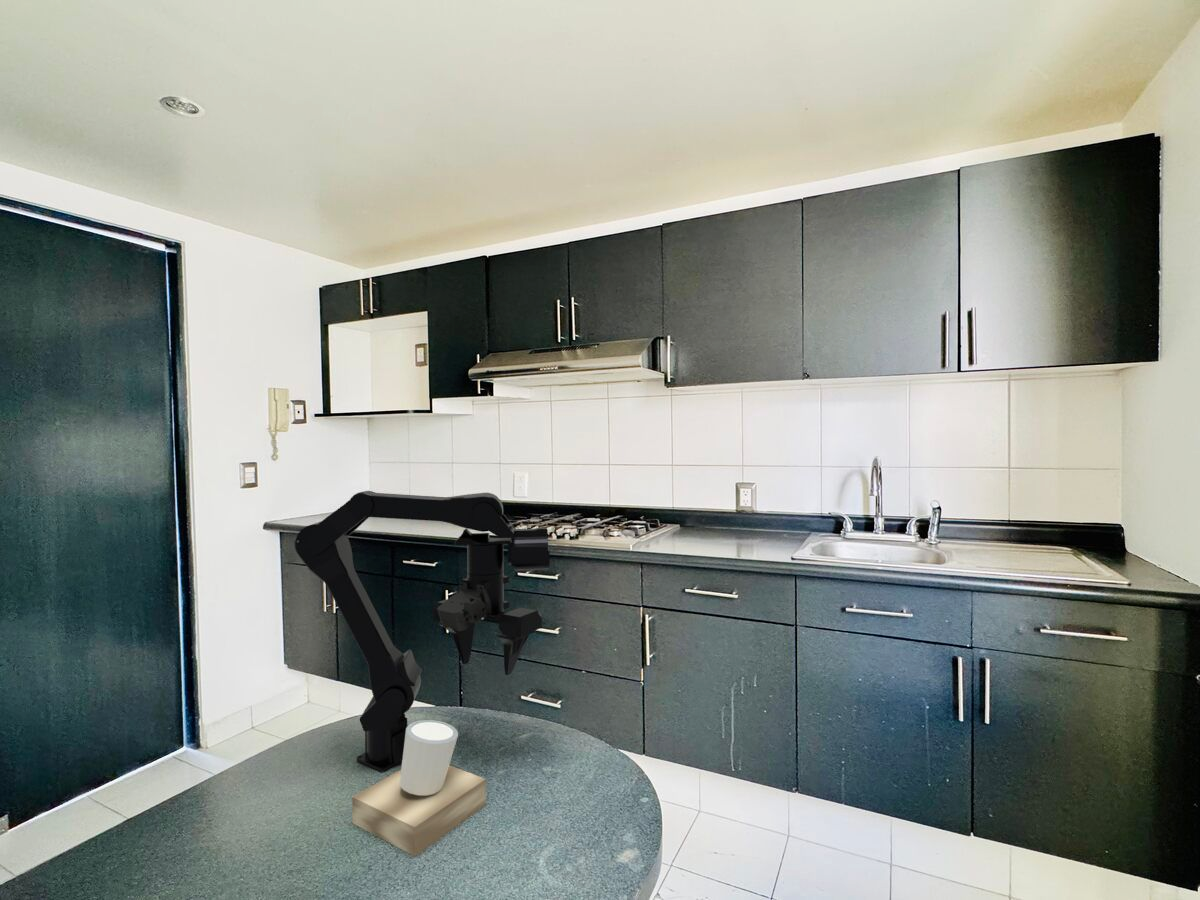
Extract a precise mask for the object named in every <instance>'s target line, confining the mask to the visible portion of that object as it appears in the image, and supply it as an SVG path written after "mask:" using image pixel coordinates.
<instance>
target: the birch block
mask: <svg viewBox="0 0 1200 900" xmlns="http://www.w3.org/2000/svg"><path fill="white" fill-rule="evenodd" d="M400 776H401V769H400V770H397V771H396V772H394V773H392V774H391V775H389V776H387V777H385V778H383V779H382V780H380V781H378V782H377V783H375V784H373V785H371V786H369V787H368V788H366V789H364V790H362V791H360V792H359V793H357V794H354V795H353V796H352V799H351V801H352V804H351V805H352V806H351V807H352V810H351V811H352V824H354V825H355V826H356V827H359V828H360V829H362V830H365V831H366V832H368V833H370V834H372V835H374V836H376V837H377V838H379V839H381V840H384V841H385V842H387V843H389V844H391V845H392V846H394V847H396V848H399V849H400V850H402V851H404V852H406V853H408V854H409V855H411V856H413V857H417V856H418V855H420V854H421V853H422V852H424V851H426V849H428V848H429V847H430V846H433V844H435V843H436V842H437V841H439V840H440V839H442V838H443V837H444V836H445V835H447V834H448V833H449V832H451V831H452V830H454V829H455V828H456V827H458V826H460V825H461V824H462V823H463V822H464V821H466V820H467V819H469V818H470V817H472V816H473V815H474V814H476V813H477V812H478V811H479V810H481V809H483V808H484V807H485V806H487V779H486V778H484V777H481V776H479V775H476V774H473V773H470V772H468V771H466V770H462V769H460V768H458V767H455V766H452V765H451V764H449V767H448V771H447V774H446V777H445V781H444V784H443V787H442V788H441V790H440V791H438V792H437V793H435V794H431V795H414V794H410V793H408V792H406V791H404V790H403V789H402V787H401V786H400Z"/></svg>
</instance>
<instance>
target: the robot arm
mask: <svg viewBox="0 0 1200 900" xmlns="http://www.w3.org/2000/svg"><path fill="white" fill-rule="evenodd" d="M369 518H376V519H377V518H381V519H398V520H413V521H414V520H415V521H432V522H442V523H447V524H450V525H453V526H457V527H460V528H463V531H462V534H460V535H459V537H457V538H456V539H455V541H454V545H455V546H466V550H467V551H466V552H467V553H466V555H467V556H466V557H467V558H466V559H467V561H466V562H467V564H466V566H467V571H466V572H467V577H466V578H463V579H461V582H460V591H459V592H457V593H455V594H453V595H451V596H450V597H449V598H446V599H443V600H440V601H437V602H436V604H435V605H434V607H432V617H433V618H432V619H433V621H434V622H435V621H436V622H438V625H439V626H440V627H443V628H444V629H446V631H448V632H449V633H450V634H451V637H452V639H453V641H454V642H453V643H454V644H455V646H456V647H455V648H456V650H457V652H458V656H459V657H460V660H461V663H462V665H466V664H469V663H470V658H471V654H472V648H473V639H474V632H475V626H476V623H478V622H479V621H481V622H482V621H483V622H488V623H492V624H498V630H499V631H500V633H501V634H498V635H497V638H498V639H499V640H500V641H501V642H502V644H503V668H504V674H505V675H506V676H510V675H512V672H513V670H514V668H515V666H516V664H517V661H518V660H519V657H520V655H521V652H522V650H523V648H524V646H525V644H526V642H527V640H528V639H529V637H530V635H532V634H534V633H536V631H537V630H540V629H542V628H543V619H542V618H543V617H542V614H541V613H540V611H539V610H537V609H531V608H526V607H519V608H516V609H512V610H510V611H508V612H507V611H505V610H506V609H509V608H510V601H508V600H505V594H504V593H505V588H504V587H505V586H504V585H505V584H507V583H510V576H509V575H504V572H505V571H504V567H505V566H504V545H507V547H506V548H507V565H508V566H509V565H510V566H511V567H514V571H540V570H541V571H543V570H550V562H551V561H550V558H551V557H550V556H551V555H550V547H549V537H548V536H549V534H548V533H549V532H548V527H547V526H545V527H544V526H542V527H541V526H540V527H535V528H517V529H516V528H515V526H514V525H513V522H510V520H509V519H508V517H507V516H506V515H505V514H504V504H503V503H502V500H501V499H500V498H499V497H498V496H497V495H496V494H494V493H491V492H478V493H469V494H461V495H453V496H446V497H445V496H434V495H416V494H415V495H414V494H403V493H388V492H387V493H385V492H375V491H372V490H365V491H359V492H357V493H356V494H353V495H352V496H351V497H350V499H349V500H348V501H346V502H345V503H344V504H343V505H341V506H340V507H339V508H337V509H335V511H333V512H331V514H329V515H328V516H326V517H325V518H324V519H322V520H321V521H318V522H314V523H312V524H309V525H307V526H305V527H303V528H302V529H300V531H299V532H298V533H297V535H296V538H295V541H294V549H295V550H294V551H295V552H296V554H297V556H298V557H299V558H300V559H301V561H302V562H303V563H304V564H305V566H306V567H307V568H308V570H309V571H310V572H311V573H313V574H314V575H315V576H316V577H317V578H319V579H320V580H321V581H322V582H324V583H325V585H326V587H327V589H328V591H329V592H330V594H331V596H332V598H333V599H334V602H335V604H336V606H337V608H338V610H339V612H340V613H341V616H342V618H343V620H344V621H345V623H346V625H347V627H348V630H349V631H350V633H351V634H352V637H353V639H354V640H355V643H356V644H357V647H358V648H359V650H360V652H361V654H362V656H363V658H364V660H365V662H366V664H367V669H368V678H369V685H370V691H371V693H372V697H371V699H370V701H369V703H368V704H367V706H366V707H365V709H364V710H363V712H362V713H361V715H360V718H359V722H360V724H361V725H360V726H361V727H362V729H363V731H364V749H365V750H364V751H365V752H363V753H361V754H359V755H358V756H356V762H358V763H361V764H363V765H366V766H369V767H371V768H373V769H375V770H376V771H379V772H385V771H387V770H388V769H390V768H392V767H394V766H396V765H398V764H400V763H402V759H403V751H404V742H405V734H406V728H407V727H408V718H407V717H406V712H408V711H409V710H410V709H411V707H412V706H413V704H414V702H415V699H416V697H417V695H418V693H419V690H420V687H421V684H422V678H421V673H422V671H423V668H422V667H420V666H419V664H417V662H416V660H415V657H414V653H413V651H412V649H408V650H406V652H404V653H402V652H401V651H400V650H399V649H398V648H397V647H395V644H393V641H392V640H391V638H390V636H389V634H388V633H387V630H386V628H385V626H384V624H383V623H382V620H381V618H380V616H379V614H378V613H377V610H376V609H375V607H374V605H373V603H372V601H371V599H370V597H369V595H368V593H367V591H366V589H365V588H364V586H363V583H362V582H361V580H360V578H359V575H358V574H357V572H356V570H355V566H354V560H353V559H354V558H353V550H352V547H351V543H350V540H349V536H350V535H351V534H352V533H354V532H355V531H356V530H357V529H358V528H360V526H362V524H364V522H366V521H367V520H368V519H369ZM471 530H473V531H477V532H476V533H475V532H471ZM478 532H479V533H478ZM489 532H490V533H491V534H493V535H494V536H497V537H490V533H489Z"/></svg>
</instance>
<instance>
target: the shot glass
mask: <svg viewBox="0 0 1200 900" xmlns="http://www.w3.org/2000/svg"><path fill="white" fill-rule="evenodd" d="M458 737H459V733H458V729H456V727H454V726H453V725H451V724H449V723H447V722H445V721H439V720H436V719H435V720H433V719H425V720H424V719H423V720H417V721H414V722H413V721H412V722H411V723H409V724H407V728H406V734H405V742H404V751H403V759H402V761H401V768H400V770H401V776H400V786H401V787H402V789H403V790H404V791H406V792H408V793H410V794H414V795H431V794H435V793H437V792H438V791H440V790H441V788H442V787H443V784H444V781H445V777H446V774H447V771H448V767H449V765H451V761H452V757H453V753H454V751H455V747H456V744H457V740H458Z"/></svg>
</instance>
